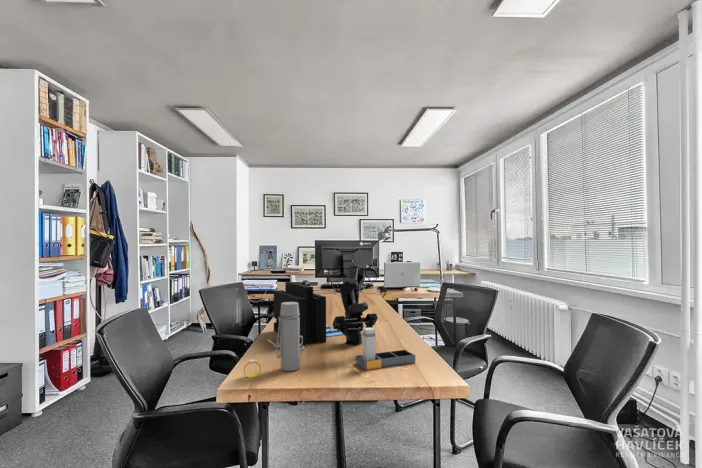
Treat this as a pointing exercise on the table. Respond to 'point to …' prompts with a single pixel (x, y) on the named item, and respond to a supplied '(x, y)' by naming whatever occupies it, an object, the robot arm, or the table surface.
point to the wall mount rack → (279, 343)
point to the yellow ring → (252, 363)
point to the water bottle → (289, 336)
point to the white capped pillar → (368, 344)
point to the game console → (305, 312)
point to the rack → (386, 359)
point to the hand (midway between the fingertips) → (360, 338)
